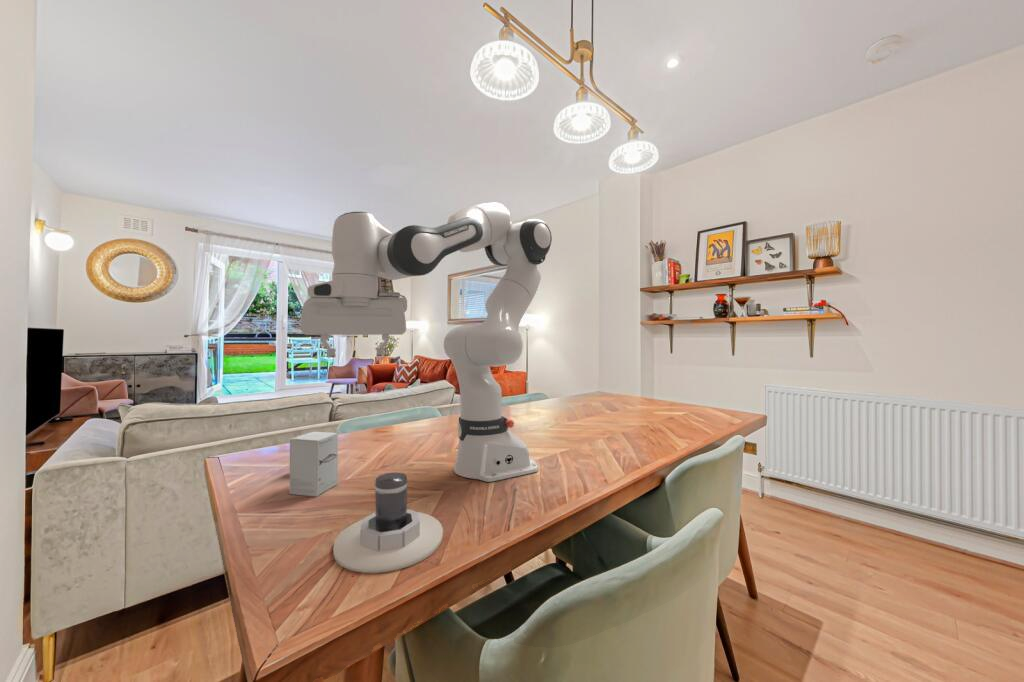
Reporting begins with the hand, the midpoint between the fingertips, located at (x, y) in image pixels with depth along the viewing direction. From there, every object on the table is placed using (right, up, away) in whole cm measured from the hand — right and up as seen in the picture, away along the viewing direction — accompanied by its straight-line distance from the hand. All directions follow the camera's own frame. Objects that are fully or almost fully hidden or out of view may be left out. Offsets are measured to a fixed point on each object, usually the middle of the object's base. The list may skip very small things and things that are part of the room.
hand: (356, 356), depth 79 cm
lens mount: (+11, -32, -13) cm, 36 cm away
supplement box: (-13, -32, +9) cm, 35 cm away
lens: (+12, -31, -13) cm, 35 cm away
